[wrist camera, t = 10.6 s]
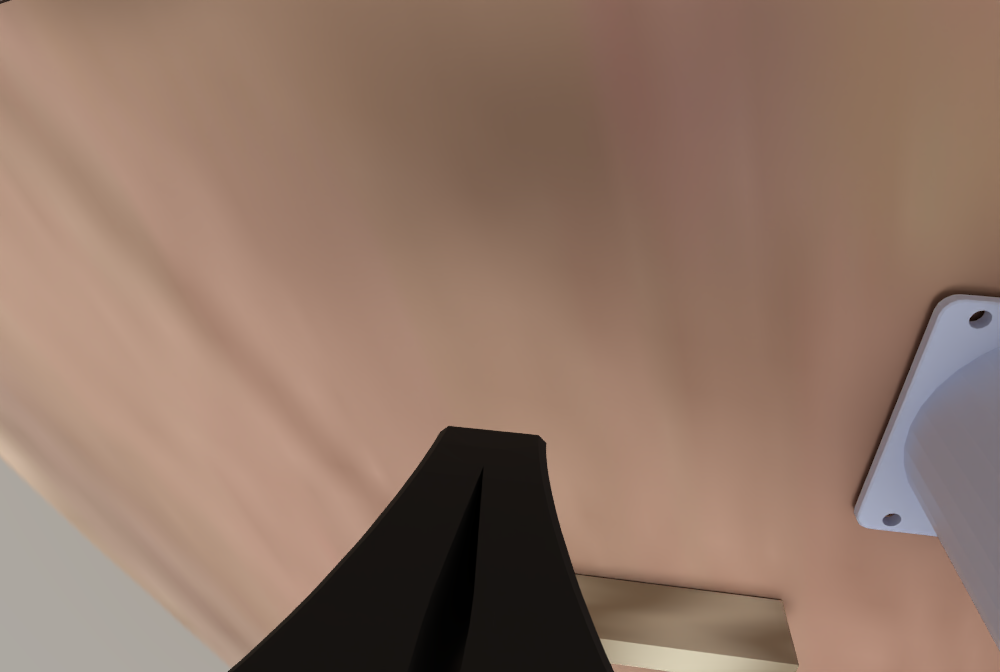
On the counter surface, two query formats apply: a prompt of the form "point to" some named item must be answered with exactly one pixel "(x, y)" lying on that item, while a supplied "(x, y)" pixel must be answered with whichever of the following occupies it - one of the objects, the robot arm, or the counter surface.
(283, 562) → the counter surface
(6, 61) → the counter surface
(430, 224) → the counter surface
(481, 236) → the counter surface
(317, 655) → the robot arm
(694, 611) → the channel
